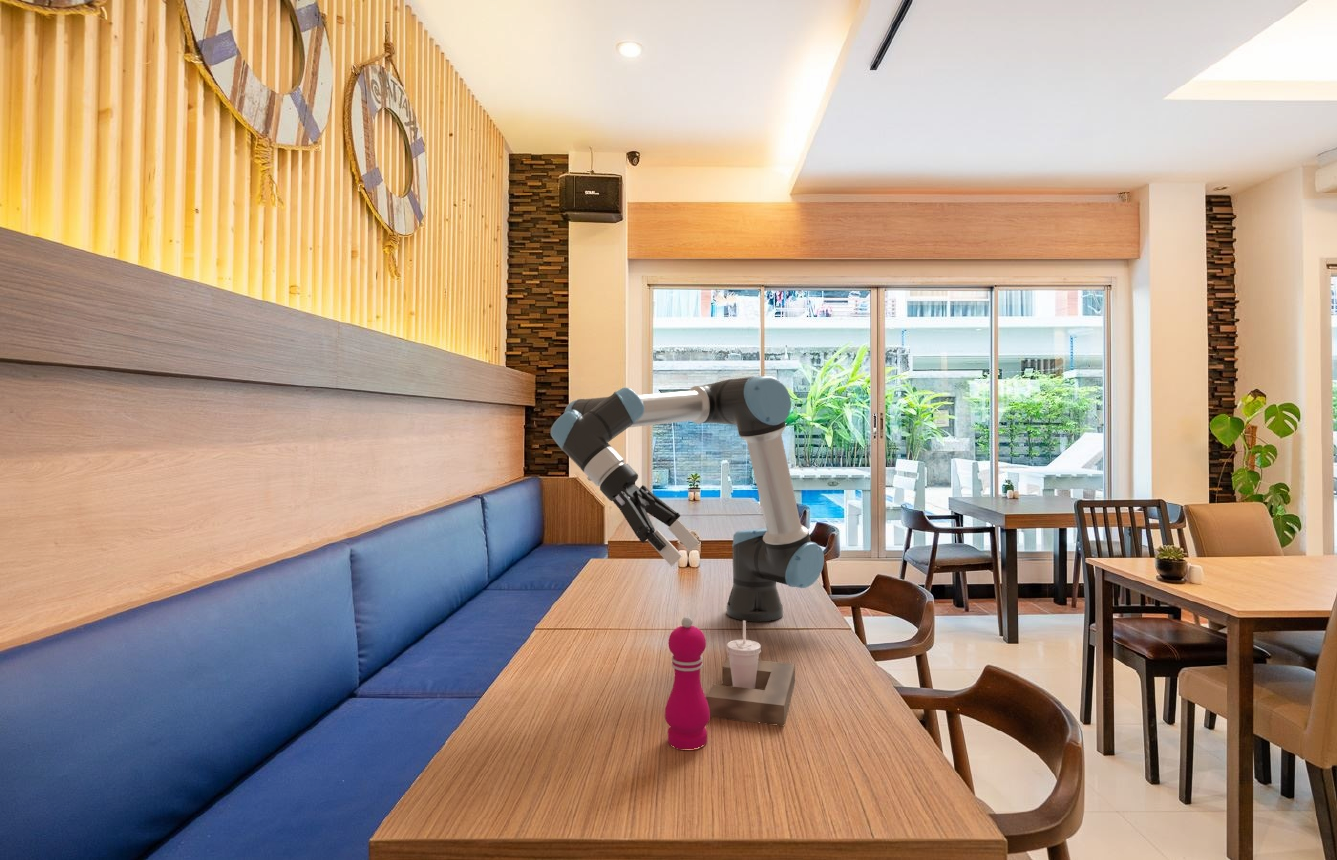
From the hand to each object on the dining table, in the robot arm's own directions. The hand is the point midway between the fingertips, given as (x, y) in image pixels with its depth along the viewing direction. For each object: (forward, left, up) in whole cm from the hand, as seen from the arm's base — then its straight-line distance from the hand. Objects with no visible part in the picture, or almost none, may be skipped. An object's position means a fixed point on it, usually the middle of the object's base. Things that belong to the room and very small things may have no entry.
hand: (686, 553), depth 122 cm
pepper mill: (+15, +14, -26) cm, 33 cm away
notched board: (-6, +11, -26) cm, 29 cm away
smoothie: (-5, +9, -26) cm, 29 cm away
